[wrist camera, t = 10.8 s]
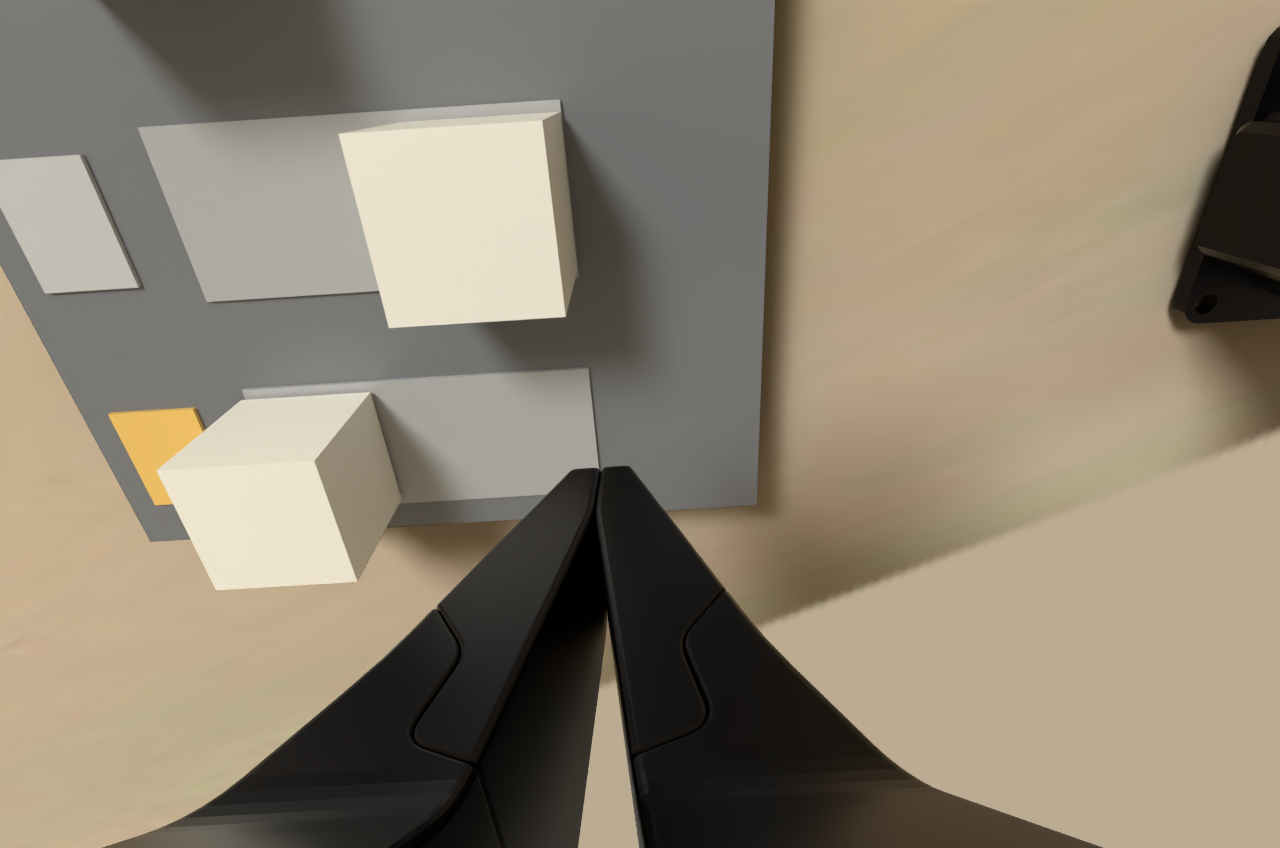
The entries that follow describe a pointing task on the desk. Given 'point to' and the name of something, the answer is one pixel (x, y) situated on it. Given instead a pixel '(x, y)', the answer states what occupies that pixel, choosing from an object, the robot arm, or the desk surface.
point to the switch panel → (337, 249)
